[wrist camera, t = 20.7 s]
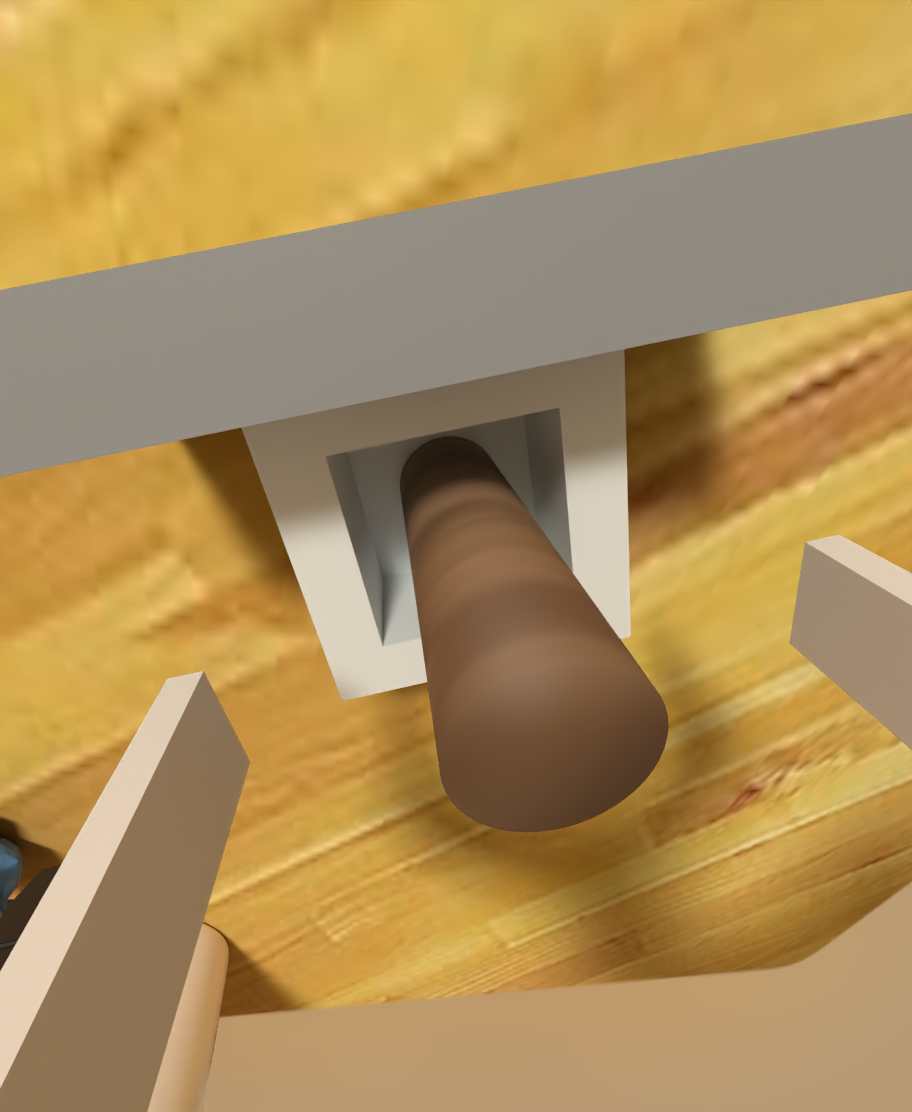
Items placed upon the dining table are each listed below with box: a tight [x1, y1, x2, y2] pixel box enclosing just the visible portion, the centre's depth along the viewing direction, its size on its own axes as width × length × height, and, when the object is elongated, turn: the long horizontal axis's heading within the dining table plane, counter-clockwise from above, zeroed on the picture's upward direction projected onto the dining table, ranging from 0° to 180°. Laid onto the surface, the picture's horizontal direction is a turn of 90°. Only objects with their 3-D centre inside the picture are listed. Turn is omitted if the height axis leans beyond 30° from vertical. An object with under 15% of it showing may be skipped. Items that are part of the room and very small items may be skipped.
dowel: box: [400, 436, 668, 832], centre depth 15 cm, size 4×4×14 cm
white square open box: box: [242, 349, 631, 701], centre depth 20 cm, size 11×11×6 cm
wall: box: [0, 114, 912, 477], centre depth 14 cm, size 3×20×10 cm, turn 100°
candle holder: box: [147, 923, 229, 1112], centre depth 29 cm, size 10×10×12 cm
